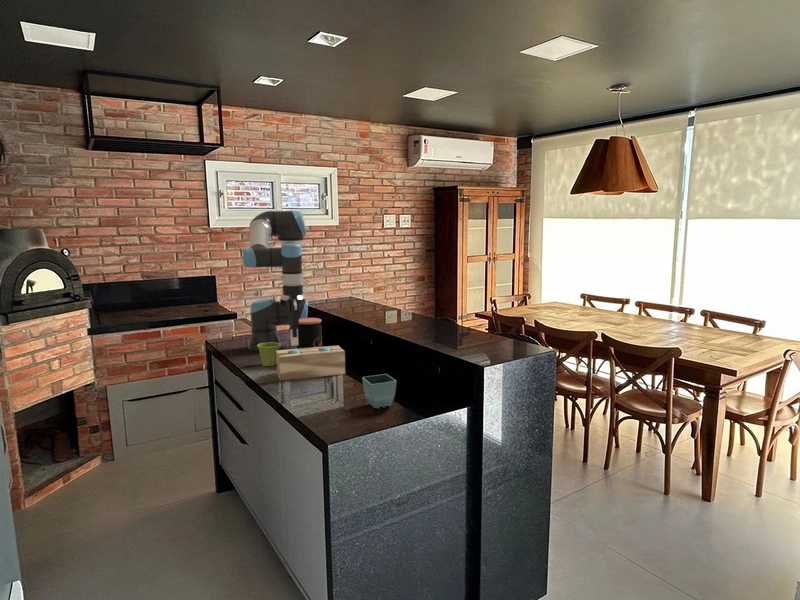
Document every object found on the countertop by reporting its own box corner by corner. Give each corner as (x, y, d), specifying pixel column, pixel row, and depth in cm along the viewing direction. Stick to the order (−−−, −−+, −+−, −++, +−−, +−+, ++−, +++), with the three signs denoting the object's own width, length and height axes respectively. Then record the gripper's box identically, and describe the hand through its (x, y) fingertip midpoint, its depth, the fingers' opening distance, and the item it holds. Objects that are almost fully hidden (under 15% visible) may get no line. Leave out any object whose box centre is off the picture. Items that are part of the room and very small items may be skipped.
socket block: (277, 372, 203) (276, 350, 201) (338, 366, 211) (338, 345, 210) (280, 380, 192) (279, 357, 191) (345, 373, 201) (344, 351, 200)
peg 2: (319, 367, 205) (319, 347, 204) (329, 366, 206) (329, 346, 205) (321, 369, 201) (321, 349, 200) (331, 368, 202) (331, 349, 201)
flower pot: (371, 412, 159) (371, 384, 158) (361, 403, 167) (361, 376, 166) (397, 408, 162) (397, 380, 161) (386, 399, 170) (386, 373, 169)
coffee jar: (317, 364, 214) (316, 322, 212) (293, 363, 216) (292, 321, 214) (326, 358, 225) (325, 318, 222) (303, 357, 227) (301, 317, 224)
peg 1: (289, 370, 201) (288, 350, 200) (299, 369, 202) (299, 349, 201) (291, 372, 197) (290, 352, 196) (301, 371, 198) (300, 351, 197)
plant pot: (272, 360, 221) (271, 341, 220) (285, 364, 215) (284, 344, 214) (253, 365, 214) (252, 345, 213) (267, 369, 208) (266, 348, 207)
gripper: (280, 283, 200) (282, 341, 203) (284, 287, 188) (287, 349, 191) (299, 282, 202) (301, 340, 206) (305, 286, 190) (307, 347, 194)
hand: (294, 344), depth 198 cm, fingers closed
